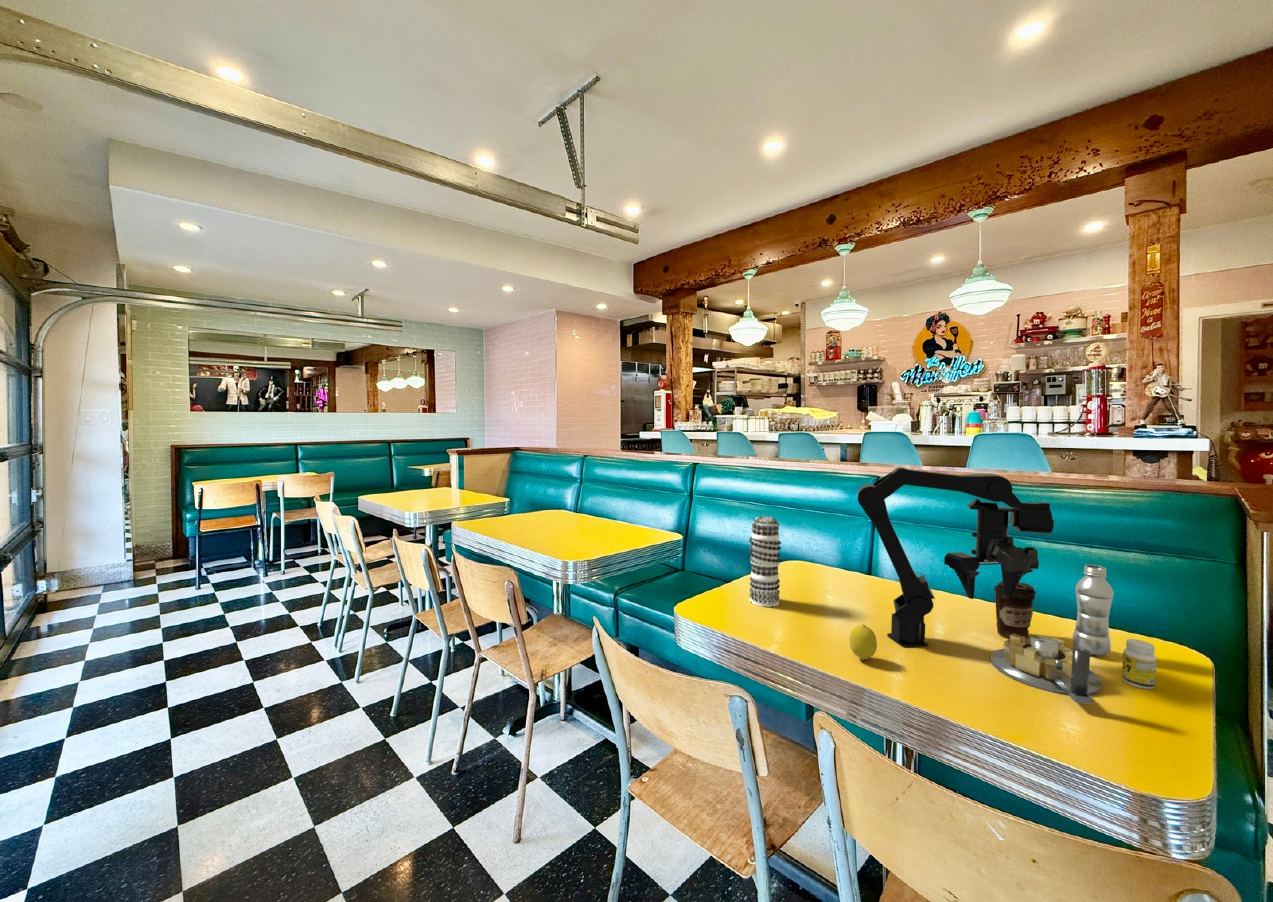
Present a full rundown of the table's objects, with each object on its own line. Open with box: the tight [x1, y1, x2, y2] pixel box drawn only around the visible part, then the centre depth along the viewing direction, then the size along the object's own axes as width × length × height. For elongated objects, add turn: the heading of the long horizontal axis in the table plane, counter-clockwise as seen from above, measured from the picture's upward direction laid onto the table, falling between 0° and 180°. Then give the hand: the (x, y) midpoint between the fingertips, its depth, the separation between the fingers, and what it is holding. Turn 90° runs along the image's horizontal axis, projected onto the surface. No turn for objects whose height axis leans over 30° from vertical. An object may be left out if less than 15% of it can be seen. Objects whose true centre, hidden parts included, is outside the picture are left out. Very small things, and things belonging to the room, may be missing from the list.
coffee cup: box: [993, 580, 1037, 639], centre depth 122 cm, size 9×8×13 cm
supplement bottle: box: [1121, 638, 1158, 690], centre depth 99 cm, size 5×5×8 cm
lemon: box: [848, 623, 878, 661], centre depth 109 cm, size 6×6×8 cm
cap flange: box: [990, 634, 1103, 696], centre depth 104 cm, size 18×18×7 cm
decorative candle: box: [748, 516, 782, 608], centre depth 145 cm, size 9×9×25 cm
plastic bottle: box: [1072, 564, 1115, 657], centre depth 112 cm, size 6×7×20 cm
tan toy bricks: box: [1003, 633, 1093, 705], centre depth 100 cm, size 22×13×10 cm, turn 161°
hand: (989, 597), depth 112 cm, fingers open, 9 cm apart
